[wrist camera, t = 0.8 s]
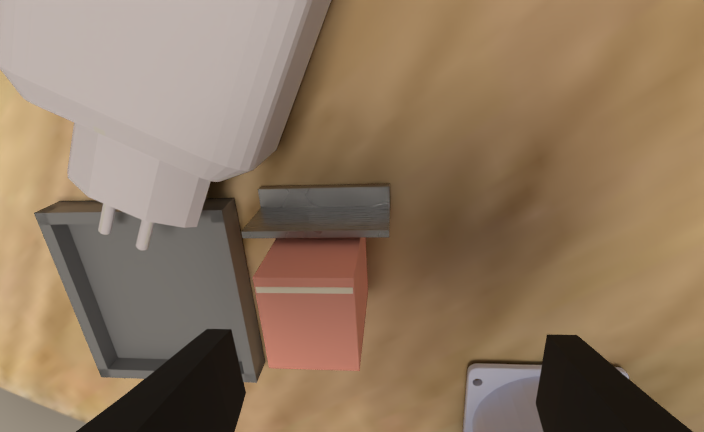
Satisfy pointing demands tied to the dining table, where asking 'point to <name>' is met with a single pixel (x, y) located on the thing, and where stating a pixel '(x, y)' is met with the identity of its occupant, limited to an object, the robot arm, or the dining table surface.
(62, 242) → the tray
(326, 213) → the bar
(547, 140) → the dining table surface
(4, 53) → the charger
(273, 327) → the salmon gift carton
